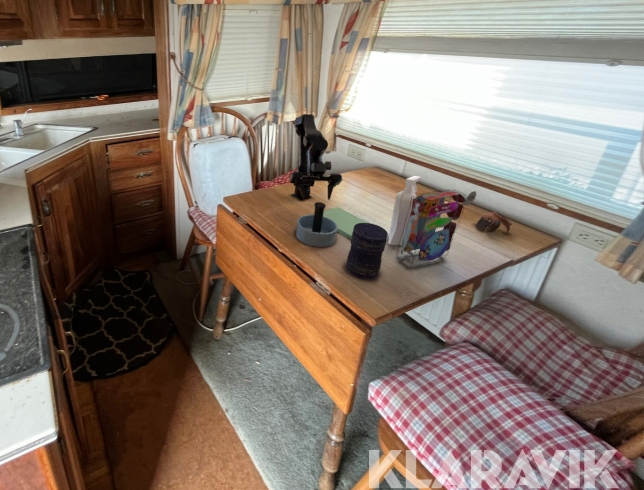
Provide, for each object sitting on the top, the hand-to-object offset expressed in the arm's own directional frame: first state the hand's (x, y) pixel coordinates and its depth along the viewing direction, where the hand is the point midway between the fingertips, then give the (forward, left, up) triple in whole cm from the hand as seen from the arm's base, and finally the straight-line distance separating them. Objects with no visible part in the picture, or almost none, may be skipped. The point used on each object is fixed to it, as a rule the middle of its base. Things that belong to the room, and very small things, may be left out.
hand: (316, 199), depth 136 cm
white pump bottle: (+22, +19, -13) cm, 32 cm away
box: (+34, +21, -13) cm, 42 cm away
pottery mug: (+35, +58, -13) cm, 69 cm away
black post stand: (+5, -4, -12) cm, 13 cm away
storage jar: (+27, -6, -13) cm, 30 cm away
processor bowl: (+5, -4, -13) cm, 14 cm away
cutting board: (+4, +13, -13) cm, 19 cm away
